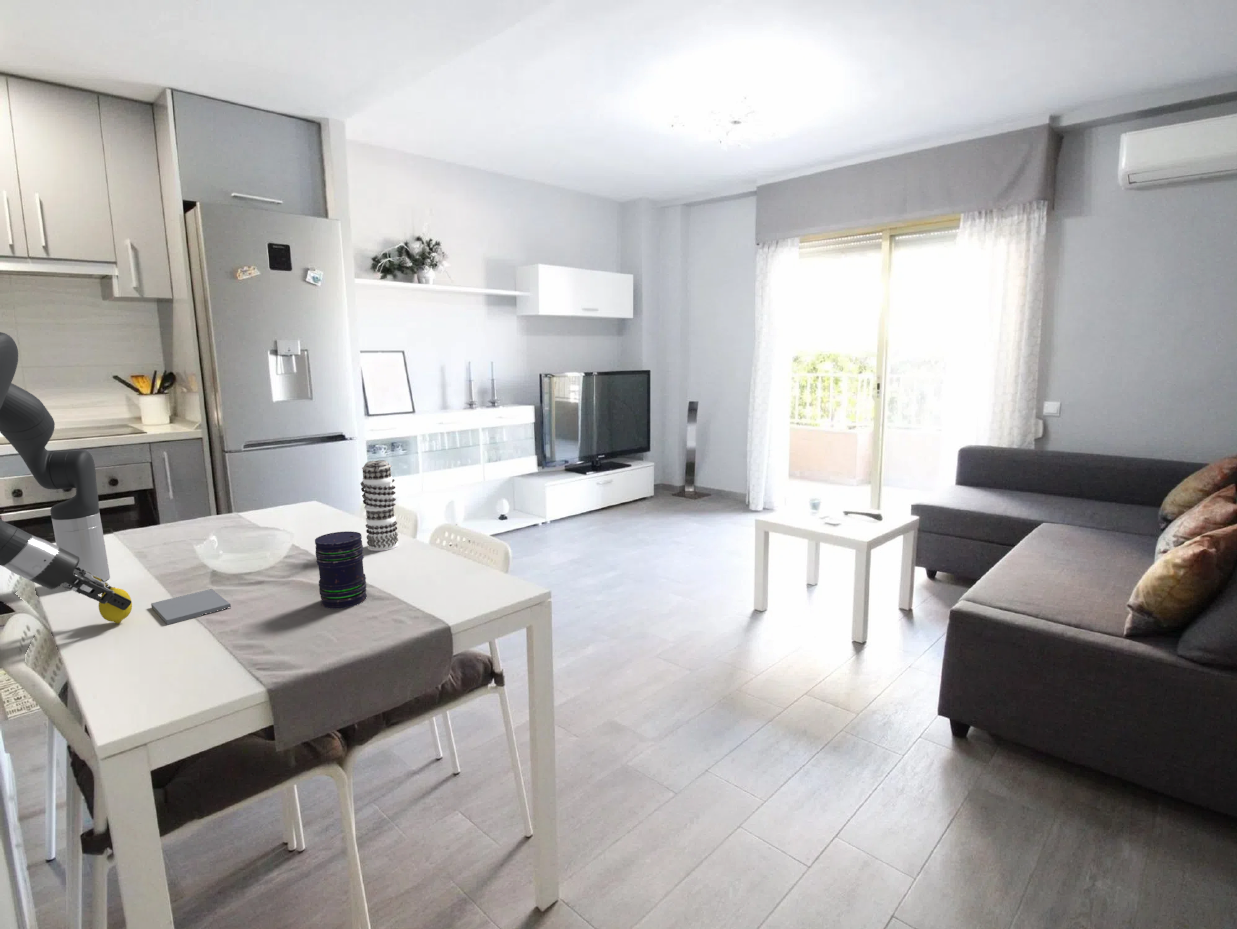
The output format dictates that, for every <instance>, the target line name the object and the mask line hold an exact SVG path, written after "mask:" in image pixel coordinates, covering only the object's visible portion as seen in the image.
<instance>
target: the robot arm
mask: <svg viewBox="0 0 1237 929" xmlns="http://www.w3.org/2000/svg"><path fill="white" fill-rule="evenodd" d="M18 363H19V349H18V345H17V343H16V342H15V339H14V338H13V337H12V336H10V335H9V334H8V333H5V332H1V331H0V434H1V435H2V436H3V437H4V439H6V440H7V441H8V442H9V444H10V445H11V446H12V447H13V449H15V451H16V452H17V453H18V455H19V456H20V458H21V459H22V460H23V462H24V463H25V465H26V467H27V468H28V469H29V471H30V473H31V475H32V476H33V478H34V479H35V480H36V482H37V483H38V484H39V486H41V487H42V488H43V489H46V490H51V491H52V490H67V489H68V490H69V489H75V495H74V496H72V497H71V498H69V499H67V500H64V501H61V502H59V503H56V504H54V505H52V506H51V507H50V518H51V522H52V527H53V533H54V540H55V544H54V543H51V542H50V541H48V540H46V539H44V538H41V537H39V536H35V535H33V534H31V533H29V532H27V531H25V530H23V529H21V528H19V527H17V526H14V524H13V525H12V524H10V523H8V522H6V521H4V520H3V519H1V518H0V567H1V566H2V567H3V568H5V569H7V570H8V571H10V572H12V573H13V574H15V575H17V576H20V577H22V578H23V579H26V580H28V581H29V582H32V583H35V584H37V585H38V586H39V585H40V586H41V587H43V588H45V589H47V590H56V589H57V588H59V587H60V586H61V585H63V587H64V588H69V590H71V591H73V592H75V593H77V594H81V595H83V596H86V597H87V598H89V599H92V600H95V601H96V602H98V603H99V602H100V603H102V604H105V603H109V604H111V605H113V606H115V607H117V608H120V609H122V610H126V609H127V608H128V607H129V605H130V604H131V601H132V599H131V600H129V599H127V598H125V597H123V596H121V595H119V594H117V593H115V592H114V591H113V590H110V588H112V585H111V586H110V585H109V584H108V582H107V580H109V579H110V577H111V574H110V568H109V562H108V555H107V549H106V544H105V536H104V531H103V523H102V519H101V514H100V512H101V511H100V506H99V503H100V502H99V494H98V486H97V475H96V465H95V460H94V458H93V455H92V454H91V453H90V452H89V451H88V450H83V449H77V450H61V451H60V450H59V451H58V450H57V451H51V450H48V449H47V448H46V446H47V444H48V443H49V441H50V440H51V438H52V436H53V434H54V431H55V429H56V428H55V425H56V424H55V419H54V417H53V416H52V414H51V413H50V412H49V411H48V409H47V408H46V406H45V404H44V403H43V402H42V400H40V399H39V398H38V397H37V396H35V395H34V394H32V393H31V392H29V391H28V390H26V389H24V388H23V387H20V386H18V385H16V384H14V383H12V381H13V380H14V377H15V374H16V371H17V367H18ZM104 593H105V594H104ZM103 594H104V596H103V597H101V596H102V595H103ZM100 595H101V596H100Z"/></svg>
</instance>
